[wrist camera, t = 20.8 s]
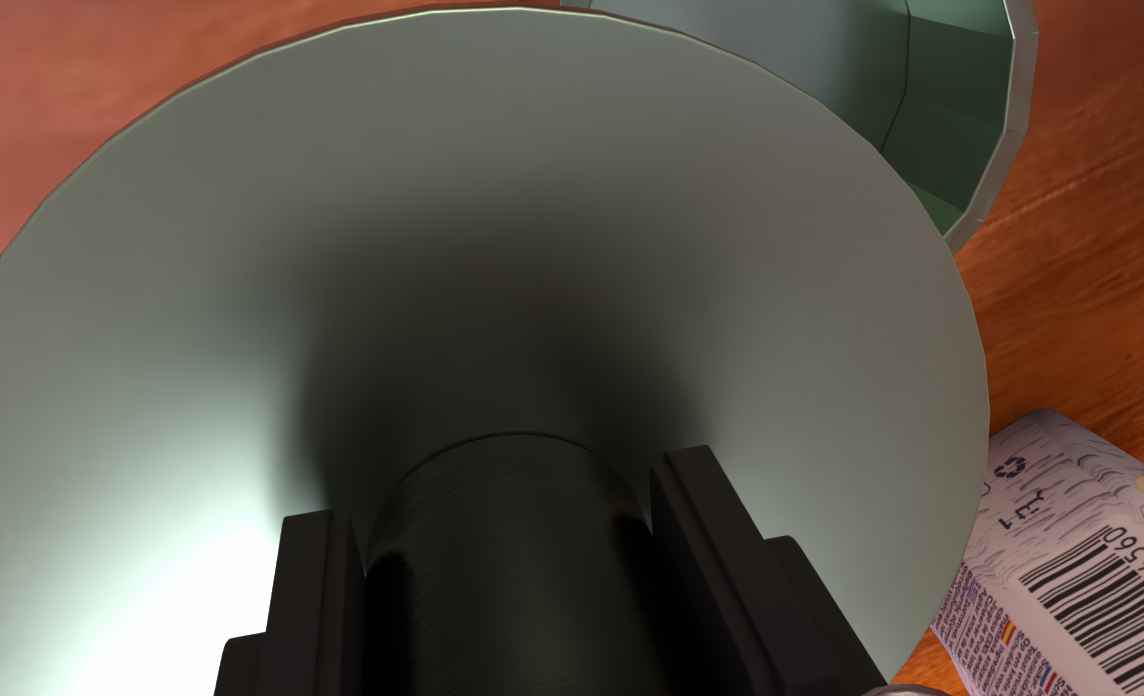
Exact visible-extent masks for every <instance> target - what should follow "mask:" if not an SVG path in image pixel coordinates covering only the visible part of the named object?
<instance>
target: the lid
mask: <svg viewBox="0 0 1144 696" xmlns="http://www.w3.org/2000/svg"><path fill="white" fill-rule="evenodd" d="M989 422H990V405H989V394H988V383H987V372H986V361H985V354H984V350H983V346H982V342H981V338H980V334H979V330H978V326H977V322H976V318H975V314H974V310H973V306H972V302H971V299H970V296H969V294H968V292H967V289H966V287H965V285H964V282H963V280H962V278H961V275H960V273H959V270H958V268H957V266H956V263H955V261H954V259H953V256H952V254H951V252H950V249H949V247H948V245H947V243H946V242H945V240H944V238H943V237H942V235H941V234H940V232H939V230H938V229H937V227H936V226H935V224H934V222H933V221H932V219H931V218H930V216H929V215H928V213H927V211H926V210H925V208H924V207H923V205H922V203H921V202H920V200H919V199H918V197H917V196H916V194H915V192H914V191H913V190H912V189H911V188H910V187H909V186H908V184H907V183H906V182H905V181H904V180H903V179H902V178H901V176H900V175H899V174H898V173H897V172H896V171H895V170H894V169H893V167H892V166H891V165H890V164H889V163H888V162H887V161H886V159H885V158H884V157H883V156H882V155H881V154H880V153H879V152H878V150H877V149H876V148H875V147H874V146H873V145H872V144H871V143H870V142H869V141H868V140H867V139H865V138H864V137H863V136H862V135H861V134H859V133H858V132H857V131H856V130H854V129H853V128H852V127H851V126H850V125H848V124H847V123H846V122H845V121H844V120H842V119H841V118H840V117H839V116H838V115H836V114H835V113H834V112H833V111H831V110H830V109H829V108H828V107H827V106H825V105H824V104H823V103H822V102H821V101H819V100H818V99H817V98H815V97H813V96H812V95H810V94H808V93H806V92H805V91H803V90H801V89H800V88H798V87H796V86H795V85H793V84H791V83H790V82H788V81H786V80H785V79H783V78H781V77H780V76H778V75H776V74H774V73H773V72H771V71H769V70H768V69H766V68H764V67H763V66H761V65H759V64H758V63H756V62H754V61H752V60H750V59H748V58H745V57H743V56H741V55H738V54H736V53H733V52H731V51H728V50H726V49H724V48H721V47H719V46H716V45H714V44H711V43H709V42H706V41H704V40H701V39H699V38H696V37H694V36H692V35H689V34H687V33H684V32H682V31H679V30H677V29H674V28H671V27H667V26H663V25H659V24H655V23H651V22H647V21H643V20H638V19H634V18H630V17H626V16H622V15H618V14H614V13H610V12H606V11H602V10H598V9H590V8H580V7H570V6H560V5H550V4H540V3H530V2H520V1H499V2H474V3H449V4H428V5H422V6H417V7H411V8H406V9H400V10H395V11H389V12H383V13H378V14H372V15H367V16H361V17H356V18H350V19H345V20H341V21H338V22H335V23H332V24H329V25H326V26H323V27H320V28H317V29H314V30H311V31H308V32H305V33H302V34H299V35H296V36H292V37H289V38H286V39H283V40H280V41H277V42H274V43H271V44H268V45H265V46H262V47H260V48H258V49H256V50H254V51H252V52H250V53H248V54H246V55H244V56H242V57H240V58H237V59H235V60H233V61H231V62H229V63H227V64H225V65H223V66H221V67H219V68H217V69H215V70H213V71H211V72H209V73H207V74H205V75H203V76H201V77H199V78H197V79H195V80H193V81H191V82H189V83H187V84H185V85H183V86H182V87H180V88H179V89H177V90H176V91H174V92H173V93H172V94H170V95H169V96H167V97H166V98H164V99H163V100H161V101H160V102H158V103H157V104H156V105H154V106H153V107H151V108H150V109H148V110H147V111H145V112H144V113H143V114H141V115H140V116H138V117H137V118H135V119H134V120H132V121H131V122H129V123H128V124H127V125H125V126H124V127H122V128H121V129H119V130H118V131H116V132H115V133H114V134H113V135H112V136H111V137H109V138H108V139H107V140H106V141H105V142H104V143H103V144H102V145H101V146H100V147H99V148H98V149H97V150H95V151H94V152H93V153H92V154H91V155H90V156H89V157H88V158H87V159H86V160H85V161H84V162H83V163H82V164H81V165H79V166H78V167H77V168H76V169H75V170H74V171H73V172H72V173H71V174H70V175H69V176H68V177H67V178H66V179H65V180H63V181H62V182H61V183H60V184H59V185H58V186H57V187H56V188H55V189H54V190H53V191H52V192H51V193H50V194H49V195H47V196H46V197H45V198H44V200H43V201H42V202H41V204H40V205H39V206H38V207H37V209H36V210H35V211H34V213H33V214H32V215H31V216H30V218H29V219H28V220H27V222H26V223H25V224H24V225H23V227H22V228H21V229H20V231H19V232H18V233H17V234H16V236H15V237H14V238H13V240H12V241H11V242H10V243H9V245H8V246H7V247H6V249H5V250H4V251H3V252H2V254H1V255H0V696H213V693H214V689H215V684H216V679H217V674H218V670H219V665H220V660H221V655H222V651H223V648H224V645H225V643H226V641H227V640H228V639H229V638H233V637H238V636H244V635H249V634H255V633H260V632H265V630H266V624H267V618H268V611H269V605H270V598H271V592H272V586H273V579H274V573H275V567H276V560H277V554H278V548H279V541H280V535H281V528H282V523H283V519H284V517H286V516H291V515H297V514H302V513H308V512H314V511H320V510H326V509H331V510H332V511H333V514H334V516H335V520H338V519H344V518H351V521H352V523H353V527H354V531H355V536H356V540H357V544H358V549H359V553H360V558H361V562H362V566H363V571H364V575H365V580H366V590H365V633H364V675H363V696H719V694H718V692H717V689H716V687H715V684H714V682H713V680H712V677H711V675H710V673H709V670H708V668H707V665H706V663H705V661H704V658H703V656H702V653H701V651H700V649H699V646H698V644H697V641H696V639H695V637H694V634H693V632H692V630H691V627H690V625H689V622H688V620H687V618H686V615H685V613H684V610H683V608H682V606H681V603H680V601H679V599H678V596H677V594H676V591H675V589H674V587H673V584H672V582H671V579H670V577H669V575H668V572H667V570H666V568H665V565H664V563H663V560H662V558H661V556H660V553H659V551H658V548H657V546H656V544H655V541H654V539H653V536H652V519H651V502H650V485H649V467H650V466H651V465H657V464H662V458H663V453H664V452H665V451H671V450H677V449H683V448H688V447H694V446H700V445H708V446H709V447H710V449H711V450H712V452H713V453H714V455H715V457H716V458H717V460H718V462H719V464H720V465H721V467H722V469H723V470H724V472H725V474H726V475H727V477H728V479H729V481H730V482H731V484H732V486H733V487H734V489H735V491H736V493H737V494H738V496H739V498H740V499H741V501H742V503H743V504H744V506H745V508H746V510H747V511H748V513H749V515H750V516H751V518H752V520H753V521H754V523H755V525H756V527H757V528H758V530H759V532H760V533H761V535H762V537H763V539H769V538H774V537H780V536H785V535H789V536H791V537H793V538H794V539H795V540H796V542H797V543H798V544H799V545H800V547H801V548H802V550H803V551H804V553H805V555H806V556H807V558H808V559H809V561H810V562H811V564H812V566H813V567H814V569H815V570H816V572H817V573H818V575H819V577H820V578H821V580H822V581H823V583H824V584H825V586H826V588H827V589H828V591H829V592H830V594H831V595H832V597H833V599H834V600H835V602H836V603H837V605H838V606H839V608H840V610H841V611H842V613H843V614H844V616H845V617H846V619H847V621H848V622H849V624H850V625H851V627H852V628H853V630H854V632H855V633H856V635H857V636H858V638H859V639H860V641H861V643H862V644H863V646H864V647H865V649H866V651H867V652H868V654H869V655H870V657H871V658H872V660H873V662H874V663H875V665H876V666H877V668H878V669H879V671H880V673H881V674H882V676H883V677H884V679H885V680H886V682H887V684H888V685H889V684H890V682H891V681H892V680H893V679H894V677H895V676H896V675H897V674H898V672H899V671H900V670H901V669H902V667H903V666H904V665H905V664H906V662H907V661H908V660H909V658H910V657H911V655H912V654H913V652H914V650H915V649H916V647H917V646H918V644H919V643H920V641H921V639H922V638H923V636H924V635H925V633H926V632H927V630H928V628H929V627H930V625H931V624H932V622H933V620H934V619H935V617H936V616H937V614H938V612H939V610H940V608H941V606H942V603H943V601H944V599H945V597H946V595H947V593H948V591H949V589H950V587H951V585H952V583H953V581H954V579H955V577H956V574H957V572H958V570H959V568H960V566H961V563H962V560H963V557H964V554H965V551H966V548H967V545H968V542H969V539H970V536H971V533H972V530H973V527H974V524H975V521H976V518H977V514H978V509H979V504H980V499H981V493H982V488H983V483H984V478H985V473H986V468H987V458H988V440H989Z"/></svg>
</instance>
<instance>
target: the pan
mask: <svg viewBox="0 0 1144 696" xmlns="http://www.w3.org/2000/svg"><path fill="white" fill-rule="evenodd" d="M520 2H530V3H540V4H550V5H560V6H570V7H580V8H590V9H598V10H602V11H606V12H610V13H614V14H618V15H622V16H626V17H630V18H634V19H638V20H643V21H647V22H651V23H655V24H659V25H663V26H667V27H671V28H674V29H677V30H679V31H682V32H684V33H687V34H689V35H692V36H694V37H696V38H699V39H701V40H704V41H706V42H709V43H711V44H714V45H716V46H719V47H721V48H724V49H726V50H728V51H731V52H733V53H736V54H738V55H741V56H743V57H745V58H748V59H750V60H752V61H754V62H756V63H758V64H759V65H761V66H763V67H764V68H766V69H768V70H769V71H771V72H773V73H774V74H776V75H778V76H780V77H781V78H783V79H785V80H786V81H788V82H790V83H791V84H793V85H795V86H796V87H798V88H800V89H801V90H803V91H805V92H806V93H808V94H810V95H812V96H813V97H815V98H817V99H818V100H819V101H821V102H822V103H823V104H824V105H825V106H827V107H828V108H829V109H830V110H831V111H833V112H834V113H835V114H836V115H838V116H839V117H840V118H841V119H842V120H844V121H845V122H846V123H847V124H848V125H850V126H851V127H852V128H853V129H854V130H856V131H857V132H858V133H859V134H861V135H862V136H863V137H864V138H865V139H867V140H868V141H869V142H870V143H871V144H872V145H873V146H874V147H875V148H876V149H877V150H878V152H879V153H880V154H881V155H882V156H883V157H884V158H885V159H886V161H887V162H888V163H889V164H890V165H891V166H892V167H893V169H894V170H895V171H896V172H897V173H898V174H899V175H900V176H901V178H902V179H903V180H904V181H905V182H906V183H907V184H908V186H909V187H910V188H911V189H912V190H913V191H914V192H915V194H916V196H917V197H918V199H919V200H920V202H921V203H922V205H923V207H924V208H925V210H926V211H927V213H928V215H929V216H930V218H931V219H932V221H933V222H934V224H935V226H936V227H937V229H938V230H939V232H940V234H941V235H942V237H943V238H944V240H945V242H946V243H947V245H948V247H949V249H950V252H951V254H952V256H954V255H955V254H956V253H957V252H958V251H959V250H960V249H961V247H962V246H963V245H964V244H965V243H966V242H967V241H968V240H969V239H970V238H971V237H972V236H973V235H974V234H975V232H976V231H977V230H978V229H979V228H980V227H981V226H982V224H983V223H982V222H985V220H986V218H987V216H988V214H989V212H990V210H991V208H992V206H993V203H994V201H995V199H996V197H997V195H998V193H999V191H1000V189H1001V187H1002V185H1003V182H1004V180H1005V178H1006V176H1007V174H1008V172H1009V170H1010V168H1011V166H1012V164H1013V161H1014V159H1015V157H1016V155H1017V153H1018V151H1019V149H1020V147H1021V145H1022V143H1023V141H1024V138H1025V136H1026V131H1027V130H1028V125H1029V117H1030V108H1031V100H1032V91H1033V83H1034V75H1035V66H1036V58H1037V50H1038V41H1039V31H1038V30H1039V26H1038V22H1037V18H1036V14H1035V11H1034V7H1033V3H1032V0H520Z"/></svg>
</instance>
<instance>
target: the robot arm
mask: <svg viewBox="0 0 1144 696" xmlns="http://www.w3.org/2000/svg"><path fill="white" fill-rule="evenodd" d="M649 485H650V502H651V519H652V536H653V539H654V541H655V544H656V546H657V548H658V551H659V553H660V556H661V558H662V560H663V563H664V565H665V568H666V570H667V572H668V575H669V577H670V579H671V582H672V584H673V587H674V589H675V591H676V594H677V596H678V599H679V601H680V603H681V606H682V608H683V610H684V613H685V615H686V618H687V620H688V622H689V625H690V627H691V630H692V632H693V634H694V637H695V639H696V641H697V644H698V646H699V649H700V651H701V653H702V656H703V658H704V661H705V663H706V665H707V668H708V670H709V673H710V675H711V677H712V680H713V682H714V684H715V687H716V689H717V692H718V694H719V696H951V695H949V694H947V693H945V692H943V691H941V690H937V689H933V688H929V687H926V686H922V685H915V684H892V685H888V684H887V682H886V680H885V679H884V677H883V676H882V674H881V673H880V671H879V669H878V668H877V666H876V665H875V663H874V662H873V660H872V658H871V657H870V655H869V654H868V652H867V651H866V649H865V647H864V646H863V644H862V643H861V641H860V639H859V638H858V636H857V635H856V633H855V632H854V630H853V628H852V627H851V625H850V624H849V622H848V621H847V619H846V617H845V616H844V614H843V613H842V611H841V610H840V608H839V606H838V605H837V603H836V602H835V600H834V599H833V597H832V595H831V594H830V592H829V591H828V589H827V588H826V586H825V584H824V583H823V581H822V580H821V578H820V577H819V575H818V573H817V572H816V570H815V569H814V567H813V566H812V564H811V562H810V561H809V559H808V558H807V556H806V555H805V553H804V551H803V550H802V548H801V547H800V545H799V544H798V543H797V542H796V540H795V539H794V538H793V537H791V536H789V535H785V536H780V537H774V538H769V539H763V537H762V535H761V533H760V532H759V530H758V528H757V527H756V525H755V523H754V521H753V520H752V518H751V516H750V515H749V513H748V511H747V510H746V508H745V506H744V504H743V503H742V501H741V499H740V498H739V496H738V494H737V493H736V491H735V489H734V487H733V486H732V484H731V482H730V481H729V479H728V477H727V475H726V474H725V472H724V470H723V469H722V467H721V465H720V464H719V462H718V460H717V458H716V457H715V455H714V453H713V452H712V450H711V449H710V447H709V446H708V445H700V446H694V447H688V448H683V449H677V450H671V451H665V452H664V453H663V458H662V464H657V465H651V466H650V467H649ZM365 590H366V580H365V575H364V571H363V566H362V562H361V558H360V553H359V549H358V544H357V540H356V536H355V531H354V527H353V523H352V521H351V518H344V519H338V520H335V516H334V514H333V511H332V510H331V509H326V510H320V511H314V512H308V513H302V514H297V515H291V516H286V517H284V519H283V523H282V528H281V535H280V541H279V548H278V554H277V560H276V567H275V573H274V579H273V586H272V592H271V598H270V605H269V611H268V618H267V624H266V630H265V632H260V633H255V634H249V635H244V636H238V637H233V638H229V639H228V640H227V641H226V643H225V645H224V648H223V651H222V655H221V660H220V665H219V670H218V674H217V679H216V684H215V689H214V693H213V696H363V675H364V633H365Z"/></svg>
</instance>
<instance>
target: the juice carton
mask: <svg viewBox="0 0 1144 696" xmlns="http://www.w3.org/2000/svg"><path fill="white" fill-rule="evenodd" d="M930 626H931V628H932V630H933V631H934V633H935V634H936V636H937V637H938V638H939V640H940V641H941V643H942V644H943V646H944V647H945V648H946V650H947V651H948V653H949V654H950V656H951V659H952V661H953V663H954V666H955V668H956V670H957V672H958V674H959V676H960V678H961V680H962V682H963V684H964V686H965V688H966V689H967V691H968V693H969V694H970V696H1144V464H1143V463H1141V462H1140V461H1138V460H1137V459H1135V458H1134V457H1132V456H1131V455H1129V454H1127V453H1126V452H1124V451H1123V450H1121V449H1119V448H1118V447H1116V446H1115V445H1113V444H1111V443H1110V442H1108V441H1106V440H1105V439H1103V438H1101V437H1100V436H1098V435H1096V434H1095V433H1093V432H1091V431H1090V430H1088V429H1086V428H1084V427H1083V426H1081V425H1079V424H1078V423H1076V422H1074V421H1072V420H1071V419H1069V418H1067V417H1065V416H1064V415H1062V414H1060V413H1058V412H1056V411H1054V410H1051V409H1047V408H1041V409H1036V410H1034V411H1032V412H1030V413H1028V414H1026V415H1025V416H1023V417H1021V418H1020V419H1018V420H1016V421H1015V422H1013V423H1011V424H1010V425H1008V426H1007V427H1005V428H1004V429H1002V430H1000V431H999V432H997V433H996V434H994V435H993V436H991V437H990V438H989V440H988V458H987V468H986V473H985V478H984V483H983V488H982V493H981V499H980V504H979V509H978V514H977V518H976V521H975V524H974V527H973V530H972V533H971V536H970V539H969V542H968V545H967V548H966V551H965V554H964V557H963V560H962V563H961V566H960V568H959V570H958V572H957V574H956V577H955V579H954V581H953V583H952V585H951V587H950V589H949V591H948V593H947V595H946V597H945V599H944V601H943V603H942V606H941V608H940V610H939V612H938V614H937V616H936V617H935V619H934V620H933V622H932V624H931V625H930Z"/></svg>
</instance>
